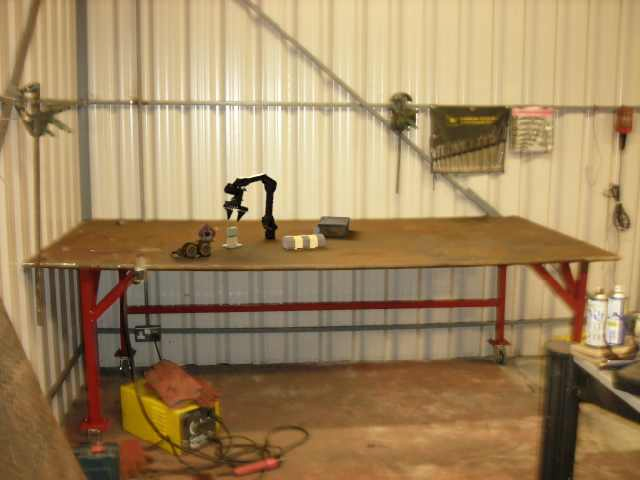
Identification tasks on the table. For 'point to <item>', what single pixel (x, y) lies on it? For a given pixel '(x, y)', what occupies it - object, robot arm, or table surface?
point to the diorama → (304, 241)
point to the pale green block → (231, 231)
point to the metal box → (333, 226)
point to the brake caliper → (207, 233)
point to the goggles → (194, 249)
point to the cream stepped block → (232, 242)
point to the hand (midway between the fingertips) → (232, 220)
